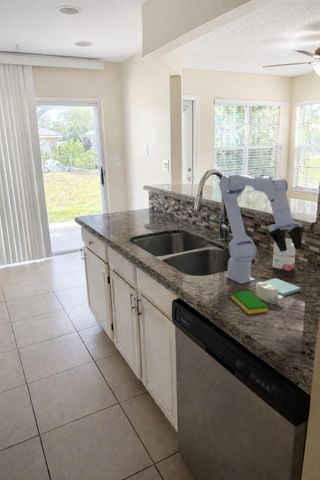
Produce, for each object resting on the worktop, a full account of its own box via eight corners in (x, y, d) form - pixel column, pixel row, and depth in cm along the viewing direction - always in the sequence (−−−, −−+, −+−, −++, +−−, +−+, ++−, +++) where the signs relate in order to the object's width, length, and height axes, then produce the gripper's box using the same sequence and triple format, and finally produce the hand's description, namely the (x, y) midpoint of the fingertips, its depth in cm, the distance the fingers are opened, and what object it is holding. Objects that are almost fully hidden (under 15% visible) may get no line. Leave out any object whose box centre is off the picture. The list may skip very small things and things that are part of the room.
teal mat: (258, 286, 139) (258, 283, 139) (275, 280, 144) (275, 278, 144) (282, 296, 129) (283, 293, 129) (300, 290, 134) (300, 287, 134)
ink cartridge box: (294, 268, 158) (297, 237, 154) (289, 271, 155) (292, 239, 151) (276, 264, 164) (278, 234, 160) (271, 267, 160) (274, 236, 157)
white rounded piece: (253, 295, 130) (254, 283, 129) (260, 293, 132) (261, 281, 131) (276, 306, 121) (277, 293, 120) (284, 304, 123) (285, 291, 122)
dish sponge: (248, 296, 131) (248, 290, 131) (267, 312, 118) (268, 306, 118) (230, 298, 130) (231, 292, 129) (248, 315, 117) (248, 308, 116)
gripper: (276, 209, 113) (286, 249, 111) (304, 207, 120) (314, 245, 118) (260, 215, 119) (269, 254, 117) (288, 213, 126) (297, 249, 124)
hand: (291, 250), depth 118 cm, fingers open, 7 cm apart
